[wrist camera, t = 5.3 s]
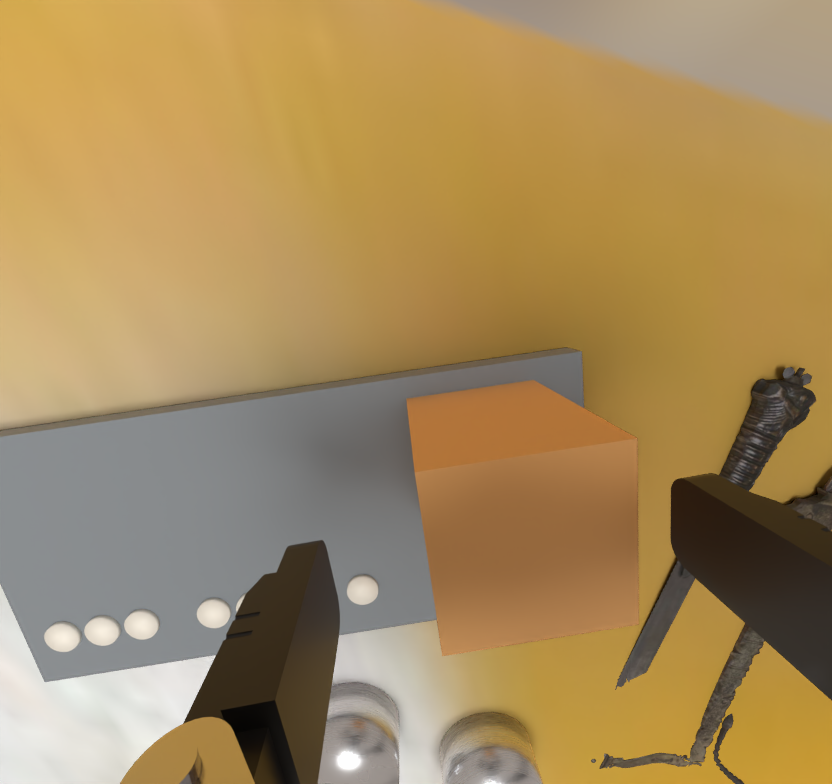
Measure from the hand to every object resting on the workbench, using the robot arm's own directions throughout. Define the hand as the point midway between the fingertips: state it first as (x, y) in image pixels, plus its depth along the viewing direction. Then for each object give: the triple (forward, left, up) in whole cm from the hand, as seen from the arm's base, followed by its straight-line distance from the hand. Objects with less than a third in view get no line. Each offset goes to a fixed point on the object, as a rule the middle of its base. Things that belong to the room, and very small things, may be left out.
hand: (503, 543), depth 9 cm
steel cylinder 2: (0, +16, -7) cm, 17 cm away
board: (+6, +2, -7) cm, 9 cm away
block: (-1, 0, -5) cm, 5 cm away
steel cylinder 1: (+6, +13, -7) cm, 16 cm away
